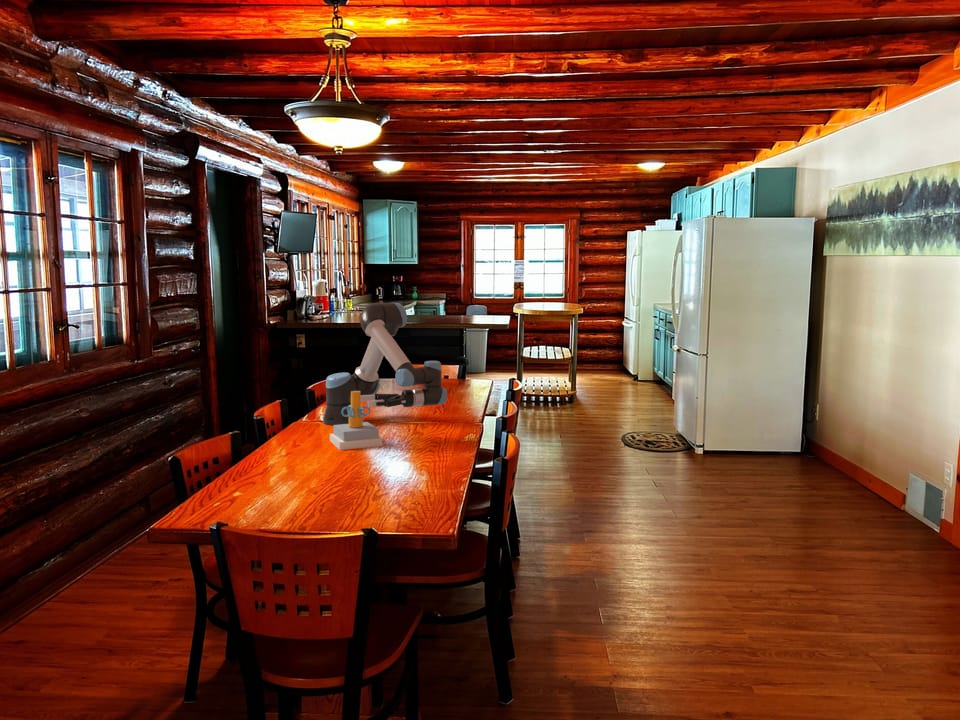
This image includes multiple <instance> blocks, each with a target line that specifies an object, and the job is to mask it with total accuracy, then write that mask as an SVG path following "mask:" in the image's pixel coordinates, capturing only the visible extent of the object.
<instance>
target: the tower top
mask: <svg viewBox="0 0 960 720" xmlns="http://www.w3.org/2000/svg"><path fill="white" fill-rule="evenodd" d="M332 426H333V433H334V435H335V436H337V437H338V438H340V439H341V440H342V441H354V440H363V439H372V438H379V437H380V436H379V427H377V426H375V425H373V423H370V422H369V421H363V427H359V428H351V427H349V424H340V425H332Z"/></svg>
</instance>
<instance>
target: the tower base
mask: <svg viewBox="0 0 960 720" xmlns="http://www.w3.org/2000/svg"><path fill="white" fill-rule="evenodd" d="M329 441H330V443H332V444H333V446H335V447H336V448H337V449H338V450H340V451H343V450H344V451H345V450H353V449H363V448H365V449H366V448H374V447H381V446H382V447H383V437H381V436H379V438H372V439H363V440H354V441H342V440H341V439H340V438H338V437H337V436H335V435H334V432H333V433H329Z"/></svg>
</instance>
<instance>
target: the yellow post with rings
mask: <svg viewBox="0 0 960 720" xmlns="http://www.w3.org/2000/svg"><path fill="white" fill-rule="evenodd" d="M361 403H362V402H361V391H351V405H349V406H348V407H344V408H343V409H342V411H341V413H342V415H343V416H344V417H348V416H349V427H351V428H359V427H363V422H364V417H366V416H369V415H370V414H371V413H370V412H371V409H370V408H371V407H369V408H368V405H363V406H362V405H361ZM349 407H351V409H350V408H349ZM344 409H347V412H348V415H344V413H343V411H344ZM365 409H367V411H368V412H367V413H366V411H365ZM349 411H350V412H349Z"/></svg>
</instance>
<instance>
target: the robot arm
mask: <svg viewBox="0 0 960 720" xmlns="http://www.w3.org/2000/svg"><path fill="white" fill-rule="evenodd" d="M359 318H360V320H359V321H360V326H361V328H362V330H363V332H364V333H365V335H366V336H368V337H370V340H369V343H368V345H367V348H366V351H365V353H364V356H363V358H362V361H361V364H360V366H358V367H356V368H355V370H354V373H353V374H351V373H349V372H337V373H333V374H330V375H328V376H327V377H326V379H325V394H326V395H325V396H326V397H325V398H326V399H325V400H326V401H325V402H326V406H325V407H326V408H325V411H324V414H323V419H322V423H323V424H324V425H329V426H333V425H340V424H349V416H348V417H344V416H343V415H342V413H341V411H342V409H343V408H344V407H348V406H349V405H351V391H361V403H366V402H367V406H368V408H380V407H382V408H383V407H385V408H390V407H391V408H392V407H397V406H402V407H403V408H411V407H417V408H420V407H421V406H422V407H423V406H424V407H425V406H439V405H444V404H446V403H447V402H448V391H447V389H446V388H445V387H442V363H441V362H440V361H439V360H426V361H424V364H423V366H418V367H417V366H416V367H414V365H413V364H412V363H411V361H410V359H409V358H408V357H407V355H406V354H405V353H404V351H403V350H402V349H401V348H400V346H399V344H398V343H397V341H396V340H395V339H394V338H393V337H394V336H396V334H397V333H398V330H399V328H400V329H401V328H403V327H405V326H406V324H407V321H408V316H407V311H406V309H405V307H404V306H403V305H402V304H401V303H399V302H393V301H392V302H382V303H381V302H380V303H379V302H378V303H377V302H376V303H375V302H374V303H370V304H368V305H366V306H365V307H364V308H363V309H362V311H361V313H360V316H359ZM383 358H385V359H386V360H387V362H389V364H390V365H391V367H392V368H393V370H394V371H395V380H396V381H395V382H396V384H397V385H398V386H399V387H402V388H403V387H405V388H406V387H412V386H418V385H424V386H423V387H424V388H413V389H403V390H401V394H399V393H378V392H379V390H380V386H381V384H380V382H381V381H380V378H379V374H378V372H379V368H380V366H381V364H382V360H383ZM349 408H350V409H351V407H349ZM349 412H350V411H349ZM343 413H344V415H348V412H347V409H344V411H343Z"/></svg>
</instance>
